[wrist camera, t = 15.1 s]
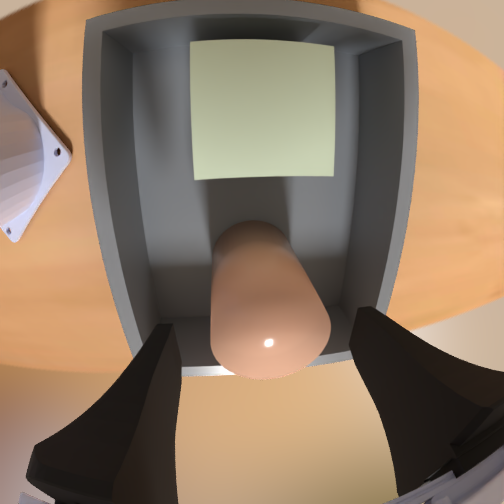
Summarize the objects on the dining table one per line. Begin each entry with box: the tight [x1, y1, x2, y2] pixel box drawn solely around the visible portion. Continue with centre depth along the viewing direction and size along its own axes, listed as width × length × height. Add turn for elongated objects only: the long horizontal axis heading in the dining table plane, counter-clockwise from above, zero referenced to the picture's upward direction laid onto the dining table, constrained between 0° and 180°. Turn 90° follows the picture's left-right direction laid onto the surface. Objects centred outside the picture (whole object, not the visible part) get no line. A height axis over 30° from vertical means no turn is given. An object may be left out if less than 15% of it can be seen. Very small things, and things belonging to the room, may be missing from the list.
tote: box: [82, 0, 419, 376], centre depth 13 cm, size 18×14×5 cm
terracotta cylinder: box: [210, 220, 331, 379], centre depth 14 cm, size 5×5×7 cm
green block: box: [190, 39, 335, 180], centre depth 11 cm, size 5×5×5 cm
